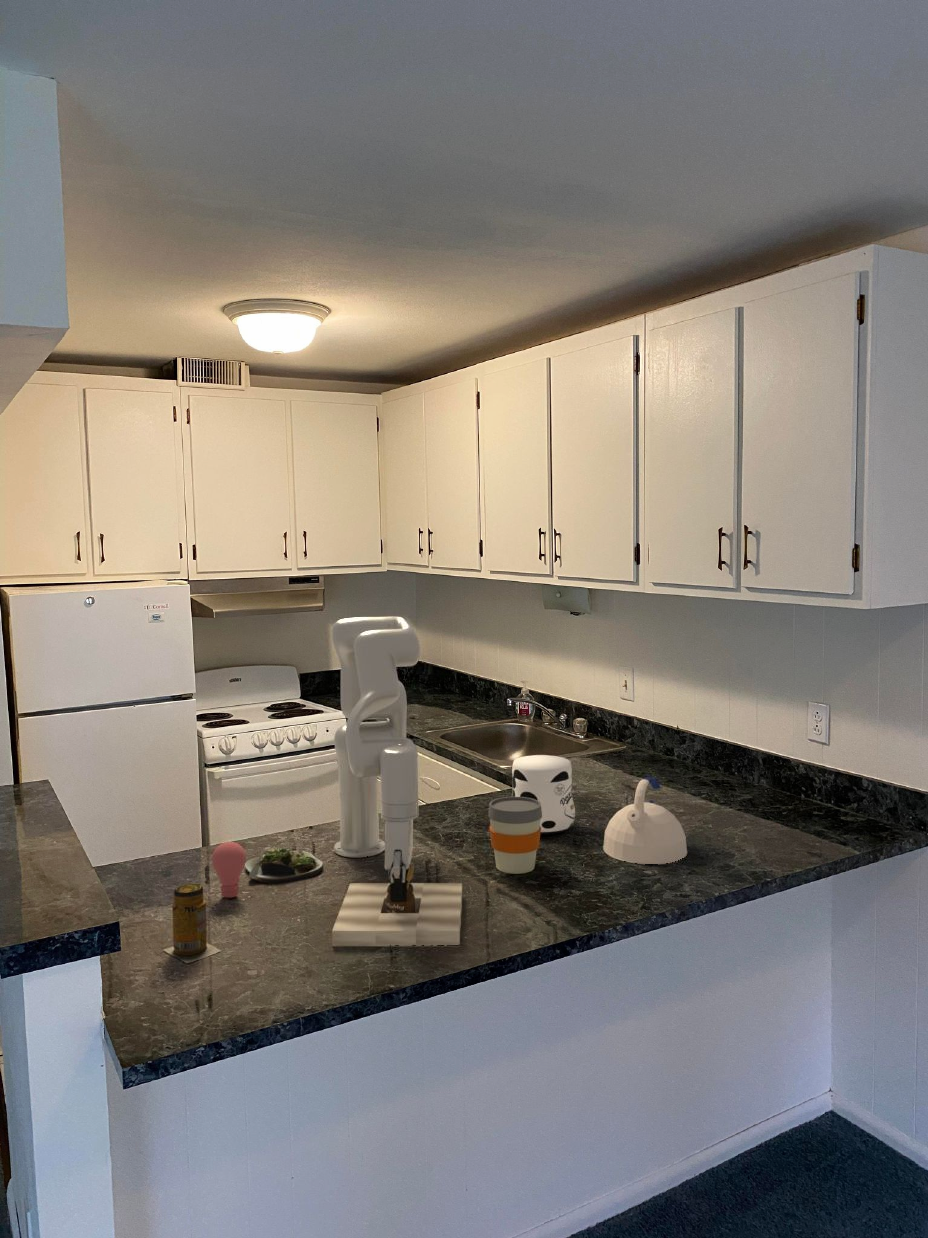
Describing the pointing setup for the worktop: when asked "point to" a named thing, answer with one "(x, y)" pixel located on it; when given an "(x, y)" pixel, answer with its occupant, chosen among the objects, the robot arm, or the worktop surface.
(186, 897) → the condiment
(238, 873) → the light bulb
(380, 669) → the robot arm
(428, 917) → the socket board
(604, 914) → the worktop surface
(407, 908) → the utensil holder
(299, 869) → the salad plate
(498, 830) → the reusable coffee cup
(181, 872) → the worktop surface
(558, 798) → the milk container
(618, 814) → the kettle
